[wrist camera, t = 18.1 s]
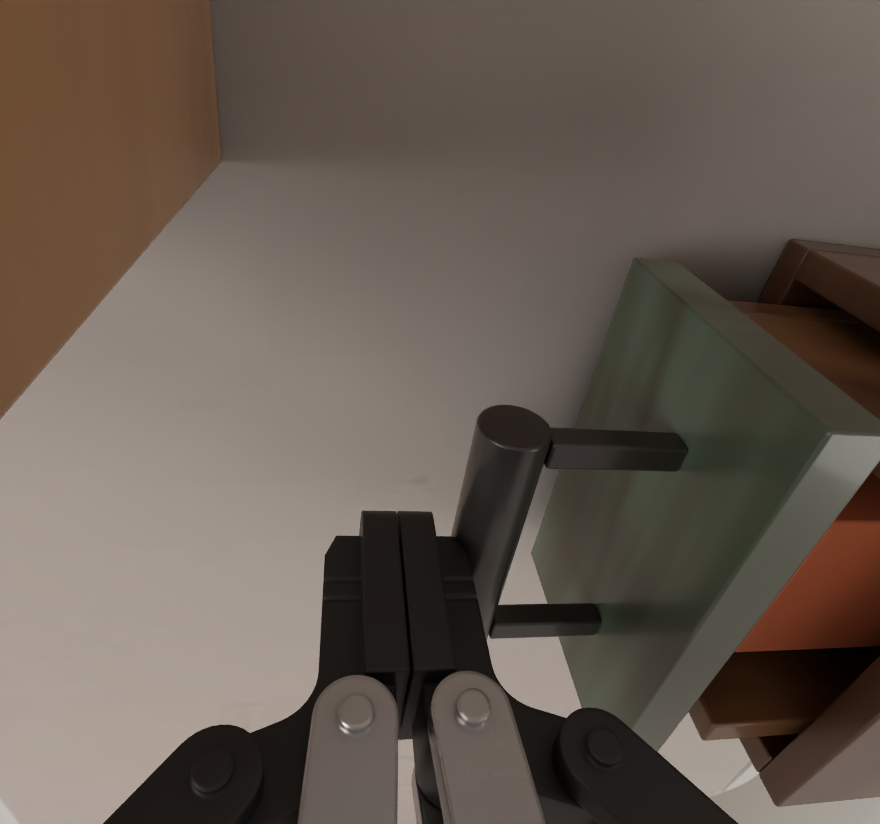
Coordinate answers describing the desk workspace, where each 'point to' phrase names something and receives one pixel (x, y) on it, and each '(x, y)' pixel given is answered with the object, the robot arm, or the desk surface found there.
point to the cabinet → (876, 690)
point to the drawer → (683, 505)
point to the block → (831, 587)
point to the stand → (92, 156)
